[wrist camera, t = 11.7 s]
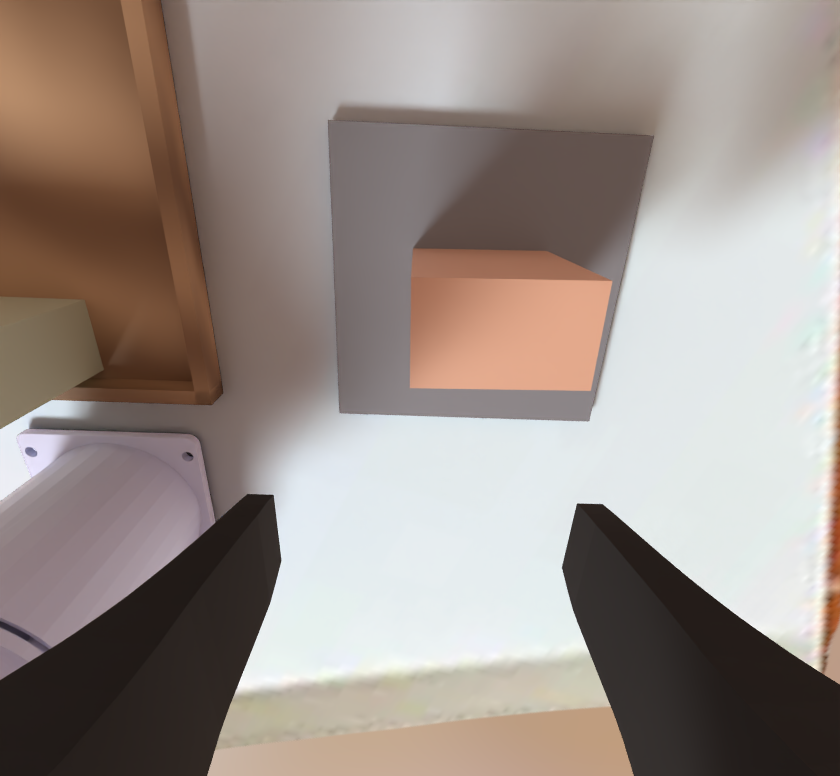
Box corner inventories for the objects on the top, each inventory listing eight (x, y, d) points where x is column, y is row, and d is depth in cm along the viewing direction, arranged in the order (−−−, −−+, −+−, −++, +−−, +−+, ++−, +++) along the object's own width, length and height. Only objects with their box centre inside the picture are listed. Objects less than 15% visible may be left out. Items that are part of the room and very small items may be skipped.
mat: (584, 415, 20) (589, 421, 19) (341, 407, 20) (339, 413, 19) (645, 137, 15) (654, 135, 15) (331, 122, 15) (328, 119, 15)
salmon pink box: (536, 328, 18) (590, 390, 12) (412, 326, 17) (409, 388, 12) (546, 250, 16) (612, 280, 11) (413, 248, 16) (411, 277, 11)
